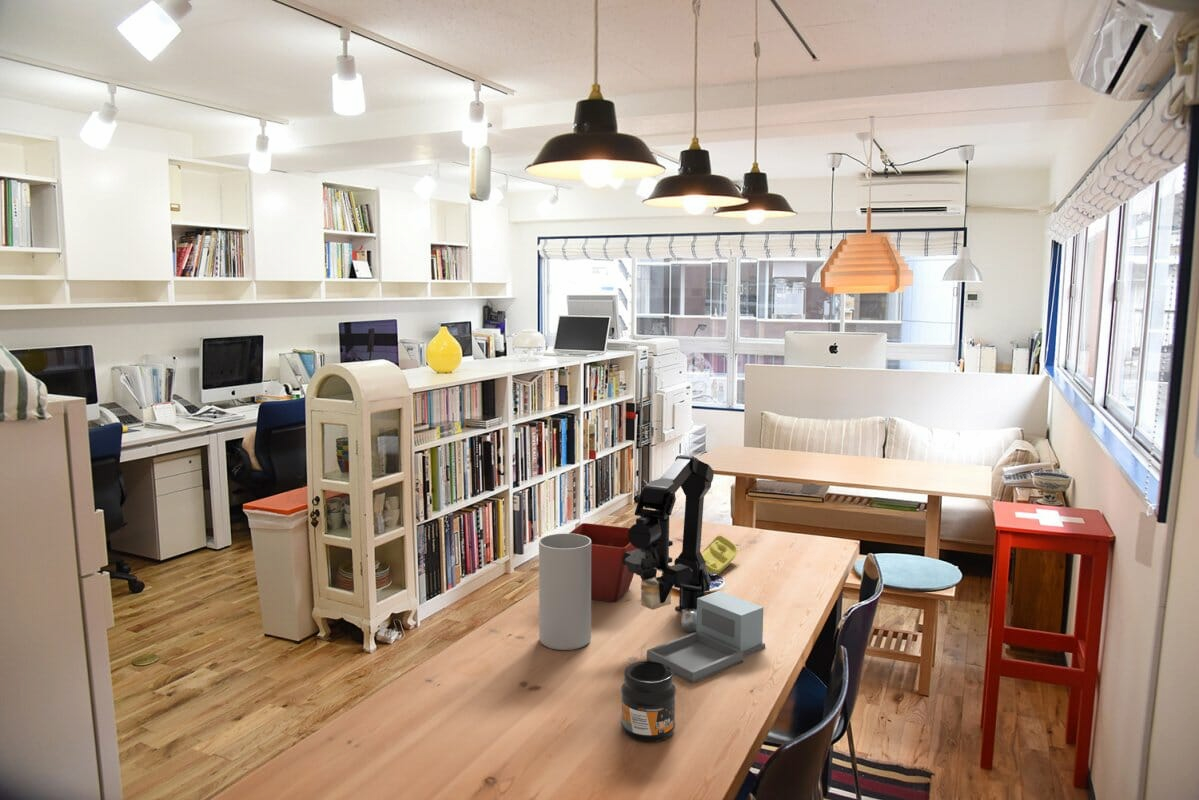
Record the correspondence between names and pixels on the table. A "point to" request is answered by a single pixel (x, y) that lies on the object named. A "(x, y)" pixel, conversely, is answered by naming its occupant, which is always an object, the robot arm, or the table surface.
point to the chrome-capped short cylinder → (689, 620)
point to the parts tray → (695, 656)
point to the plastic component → (719, 554)
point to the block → (652, 594)
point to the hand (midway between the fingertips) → (656, 600)
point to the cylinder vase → (565, 591)
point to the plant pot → (607, 560)
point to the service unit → (731, 621)
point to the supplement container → (648, 701)
